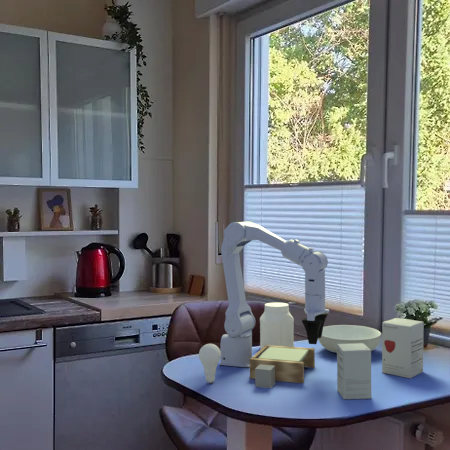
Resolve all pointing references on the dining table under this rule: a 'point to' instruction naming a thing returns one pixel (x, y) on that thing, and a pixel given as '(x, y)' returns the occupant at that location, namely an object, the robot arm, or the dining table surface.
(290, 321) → the jar
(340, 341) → the serving bowl
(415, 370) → the supplement box
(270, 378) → the gray block
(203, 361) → the lightbulb
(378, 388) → the dining table surface
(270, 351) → the hatch
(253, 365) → the hatch frame
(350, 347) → the supplement box
